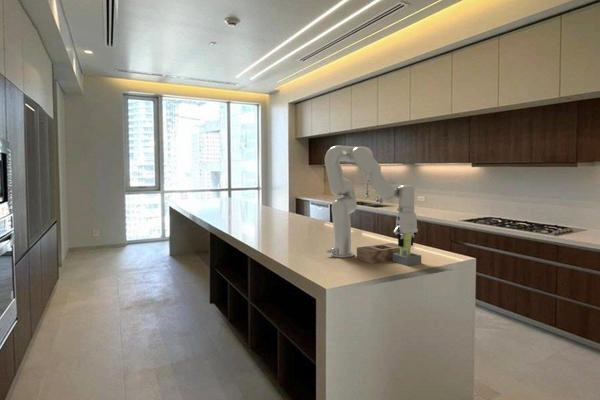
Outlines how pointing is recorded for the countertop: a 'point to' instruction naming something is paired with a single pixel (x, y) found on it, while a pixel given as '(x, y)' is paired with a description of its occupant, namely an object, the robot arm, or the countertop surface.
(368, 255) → the port block
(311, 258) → the countertop surface
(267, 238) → the countertop surface
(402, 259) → the frame
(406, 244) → the tube
